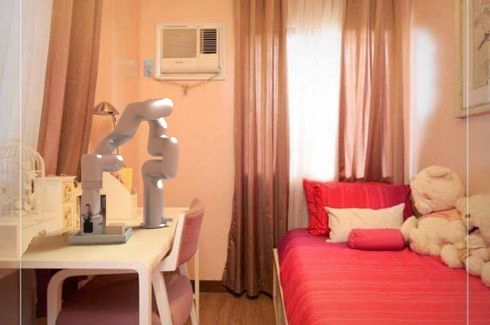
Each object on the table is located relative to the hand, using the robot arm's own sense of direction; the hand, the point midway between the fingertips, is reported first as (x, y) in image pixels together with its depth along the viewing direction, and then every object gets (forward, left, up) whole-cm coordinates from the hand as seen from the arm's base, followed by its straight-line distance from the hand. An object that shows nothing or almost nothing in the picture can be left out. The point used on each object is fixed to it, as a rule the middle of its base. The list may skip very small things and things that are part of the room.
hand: (91, 230), depth 126 cm
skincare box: (0, 0, -2) cm, 2 cm away
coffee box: (+3, -14, -4) cm, 15 cm away
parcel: (-9, 0, -4) cm, 10 cm away
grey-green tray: (-4, 0, -4) cm, 5 cm away
